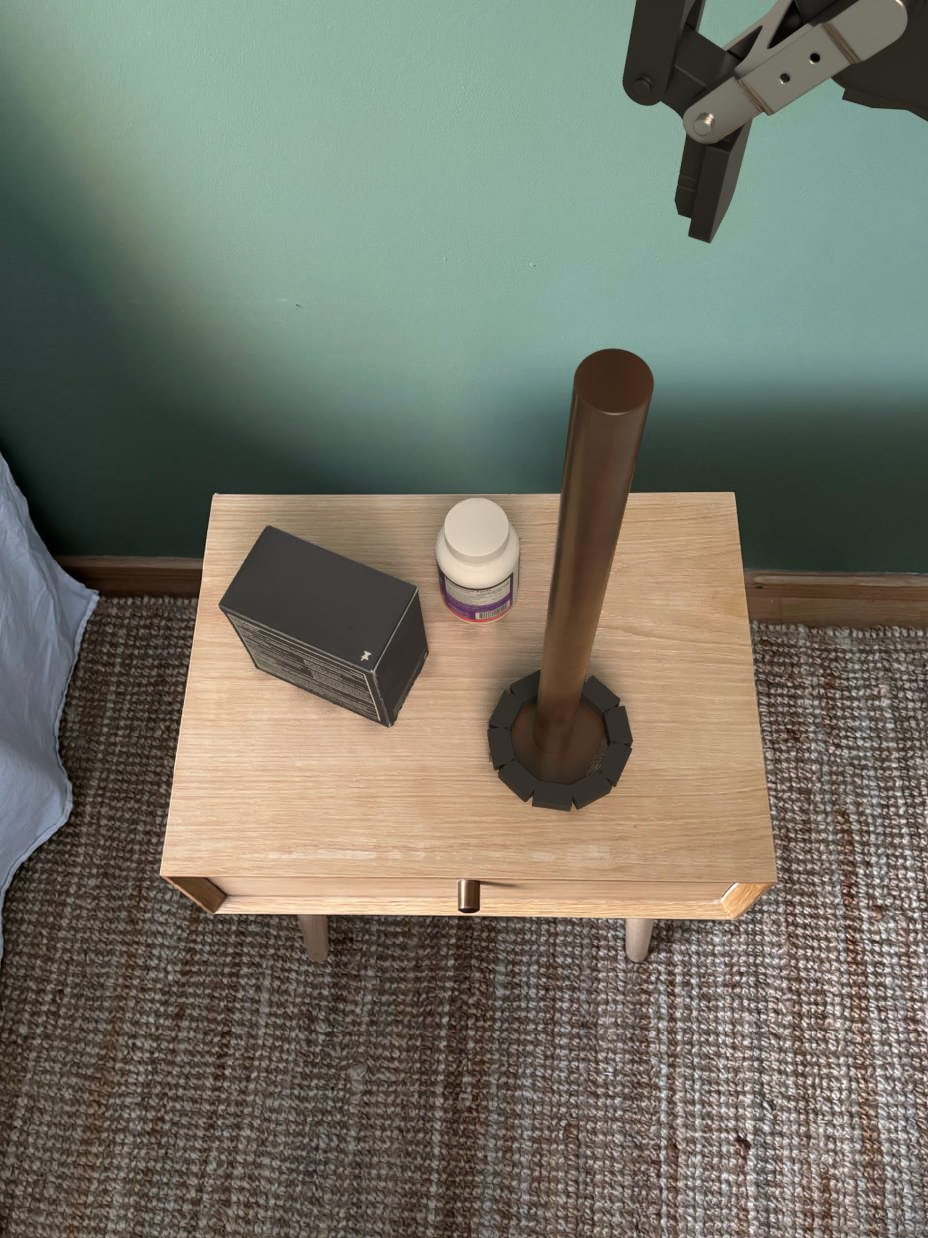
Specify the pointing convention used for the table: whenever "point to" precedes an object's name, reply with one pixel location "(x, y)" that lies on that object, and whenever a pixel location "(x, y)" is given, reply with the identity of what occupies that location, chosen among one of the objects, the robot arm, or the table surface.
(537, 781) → the ring
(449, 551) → the pill bottle
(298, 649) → the small box
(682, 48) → the robot arm
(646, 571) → the table surface
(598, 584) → the brown upright dowel
